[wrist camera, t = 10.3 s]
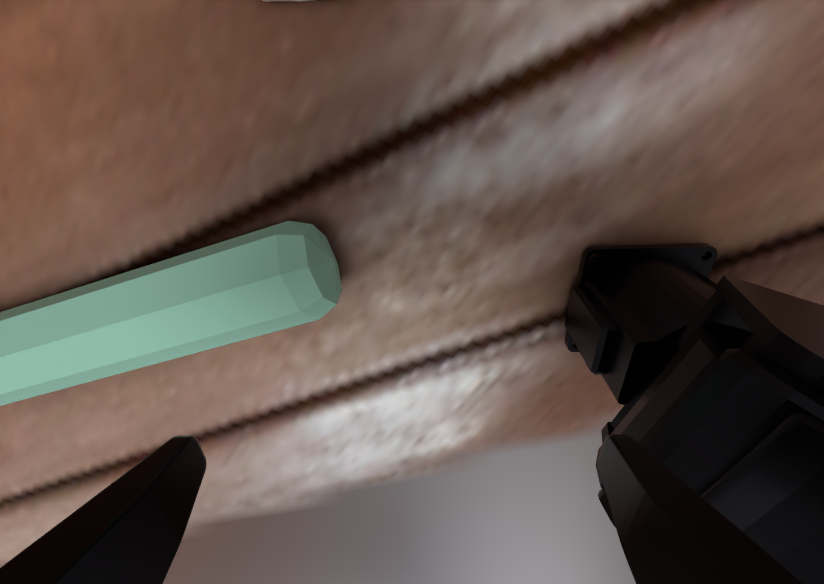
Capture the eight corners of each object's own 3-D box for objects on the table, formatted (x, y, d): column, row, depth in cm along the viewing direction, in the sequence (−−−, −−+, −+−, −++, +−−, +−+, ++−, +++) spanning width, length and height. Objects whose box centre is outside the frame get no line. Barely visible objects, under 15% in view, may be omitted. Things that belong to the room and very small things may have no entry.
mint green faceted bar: (298, 267, 14) (-183, 409, 18) (359, 344, 19) (-37, 445, 23) (308, 176, 18) (-92, 309, 22) (357, 258, 23) (18, 357, 26)
